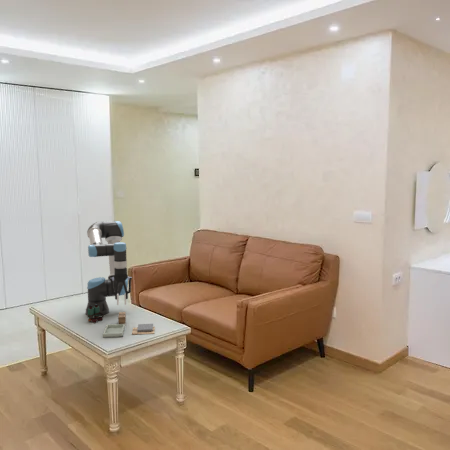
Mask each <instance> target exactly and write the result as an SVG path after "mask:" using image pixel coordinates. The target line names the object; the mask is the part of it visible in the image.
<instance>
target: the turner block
mask: <svg viewBox="0 0 450 450" xmlns="http://www.w3.org/2000/svg"><path fill="white" fill-rule="evenodd" d="M126 314H127V313H126V311H119V312H118V316H117V317H118V318H117V319H118V322H117V324H125V325H126V323H127V322H126V320H127V317H126V316H127V315H126Z"/></svg>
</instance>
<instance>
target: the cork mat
mask: <svg viewBox="0 0 450 450" xmlns="http://www.w3.org/2000/svg"><path fill="white" fill-rule="evenodd" d="M137 328H138V326H137V327H133V328H132V331H131V335H132V336H133V335H134V336H135V335H137V334H139V335H154V334H155V329H156V328H155V326H153V331H146V332H137ZM137 336H138V335H137Z"/></svg>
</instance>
